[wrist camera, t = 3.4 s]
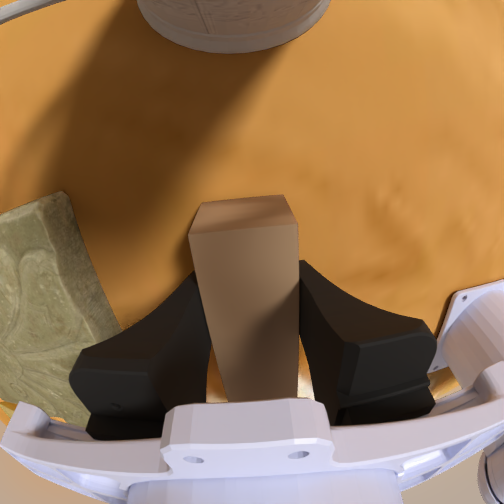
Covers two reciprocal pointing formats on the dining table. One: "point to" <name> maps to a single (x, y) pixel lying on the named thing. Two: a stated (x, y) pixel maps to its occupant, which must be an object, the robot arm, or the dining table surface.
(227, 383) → the walnut stick
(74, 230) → the decorative tile
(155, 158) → the dining table surface
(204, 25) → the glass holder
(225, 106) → the dining table surface
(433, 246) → the dining table surface
